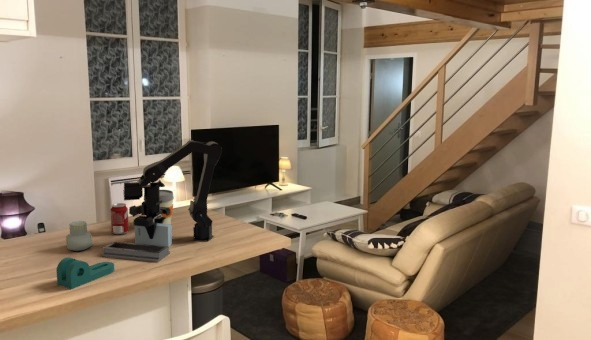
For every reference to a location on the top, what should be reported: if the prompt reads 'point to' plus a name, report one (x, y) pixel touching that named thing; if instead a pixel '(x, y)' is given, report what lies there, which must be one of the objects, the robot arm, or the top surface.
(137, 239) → the door panel
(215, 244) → the top surface
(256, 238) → the top surface
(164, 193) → the reusable coffee cup
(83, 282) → the bracket
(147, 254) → the floor track
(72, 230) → the air freshener
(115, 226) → the soda can
